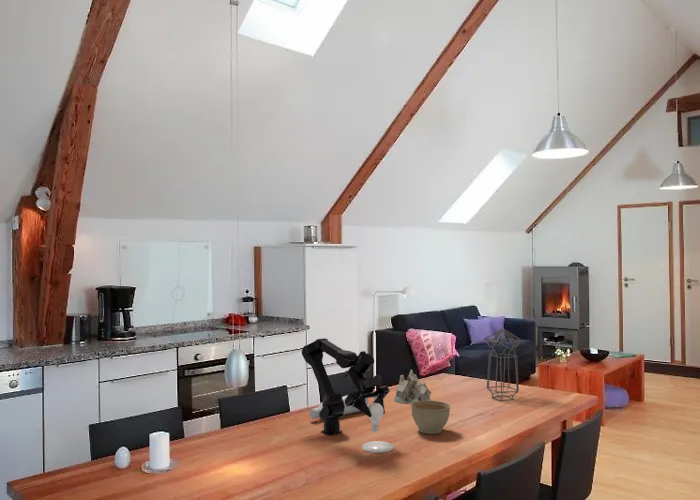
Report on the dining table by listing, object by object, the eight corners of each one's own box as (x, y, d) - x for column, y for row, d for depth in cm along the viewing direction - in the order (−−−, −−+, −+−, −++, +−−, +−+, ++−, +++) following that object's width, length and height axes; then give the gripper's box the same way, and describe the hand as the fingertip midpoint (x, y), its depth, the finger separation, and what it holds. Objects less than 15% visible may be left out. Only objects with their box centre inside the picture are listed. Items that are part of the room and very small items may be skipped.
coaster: (355, 447, 229) (355, 446, 229) (377, 440, 237) (377, 439, 237) (377, 455, 220) (377, 453, 220) (400, 447, 228) (400, 446, 228)
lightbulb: (374, 435, 223) (374, 406, 223) (363, 431, 228) (363, 402, 228) (387, 432, 227) (387, 403, 227) (376, 428, 232) (376, 400, 232)
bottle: (354, 400, 289) (304, 414, 269) (361, 386, 285) (310, 399, 265) (365, 414, 283) (314, 428, 264) (372, 400, 279) (321, 414, 260)
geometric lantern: (481, 396, 310) (481, 328, 310) (508, 394, 314) (508, 327, 315) (497, 403, 295) (497, 331, 295) (525, 401, 299) (525, 330, 300)
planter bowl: (449, 438, 240) (449, 410, 240) (409, 435, 243) (409, 408, 244) (451, 426, 256) (451, 400, 256) (413, 424, 259) (412, 399, 259)
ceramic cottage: (390, 399, 304) (391, 369, 304) (417, 397, 311) (419, 368, 311) (406, 408, 290) (408, 377, 290) (434, 405, 297) (436, 375, 297)
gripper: (349, 371, 224) (368, 407, 216) (386, 365, 236) (406, 399, 228) (336, 388, 231) (354, 424, 222) (373, 381, 242) (391, 415, 234)
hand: (377, 415), depth 226 cm, fingers closed on lightbulb, 6 cm apart
